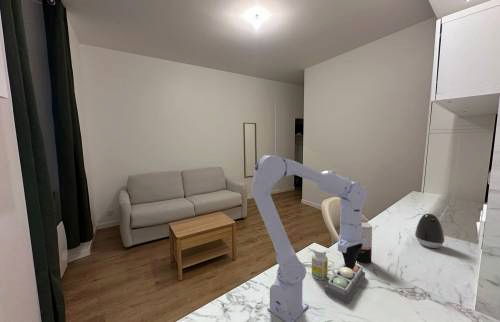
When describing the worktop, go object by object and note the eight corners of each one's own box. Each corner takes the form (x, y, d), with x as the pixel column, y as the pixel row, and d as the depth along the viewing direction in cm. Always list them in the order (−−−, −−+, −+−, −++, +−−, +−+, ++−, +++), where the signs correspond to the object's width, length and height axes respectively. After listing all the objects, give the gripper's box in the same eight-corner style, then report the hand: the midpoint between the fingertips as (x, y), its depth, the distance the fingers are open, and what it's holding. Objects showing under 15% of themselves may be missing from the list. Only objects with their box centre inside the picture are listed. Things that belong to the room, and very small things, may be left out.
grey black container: (357, 254, 86) (357, 220, 85) (374, 261, 81) (374, 224, 80) (350, 259, 82) (350, 224, 81) (367, 267, 77) (368, 228, 76)
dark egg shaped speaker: (420, 248, 91) (421, 215, 90) (411, 239, 100) (412, 209, 100) (449, 252, 87) (450, 218, 86) (437, 242, 97) (438, 211, 96)
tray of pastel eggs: (348, 304, 58) (348, 292, 58) (324, 292, 63) (325, 281, 63) (364, 277, 70) (365, 267, 70) (344, 269, 75) (344, 260, 75)
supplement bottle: (315, 281, 68) (315, 253, 68) (309, 271, 74) (309, 246, 73) (330, 280, 69) (330, 253, 69) (323, 270, 74) (323, 245, 74)
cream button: (350, 280, 64) (350, 275, 64) (337, 275, 66) (337, 270, 66) (354, 275, 66) (354, 270, 66) (342, 270, 69) (342, 265, 69)
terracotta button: (355, 276, 68) (356, 271, 68) (343, 271, 70) (343, 267, 70) (359, 271, 70) (359, 266, 70) (347, 266, 73) (347, 262, 73)
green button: (344, 292, 60) (344, 287, 60) (331, 286, 63) (331, 281, 62) (348, 286, 63) (348, 281, 63) (335, 280, 65) (336, 275, 65)
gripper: (358, 233, 50) (357, 285, 51) (372, 219, 61) (371, 262, 61) (330, 226, 55) (329, 273, 56) (348, 214, 66) (347, 254, 66)
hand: (349, 267), depth 59 cm, fingers closed
